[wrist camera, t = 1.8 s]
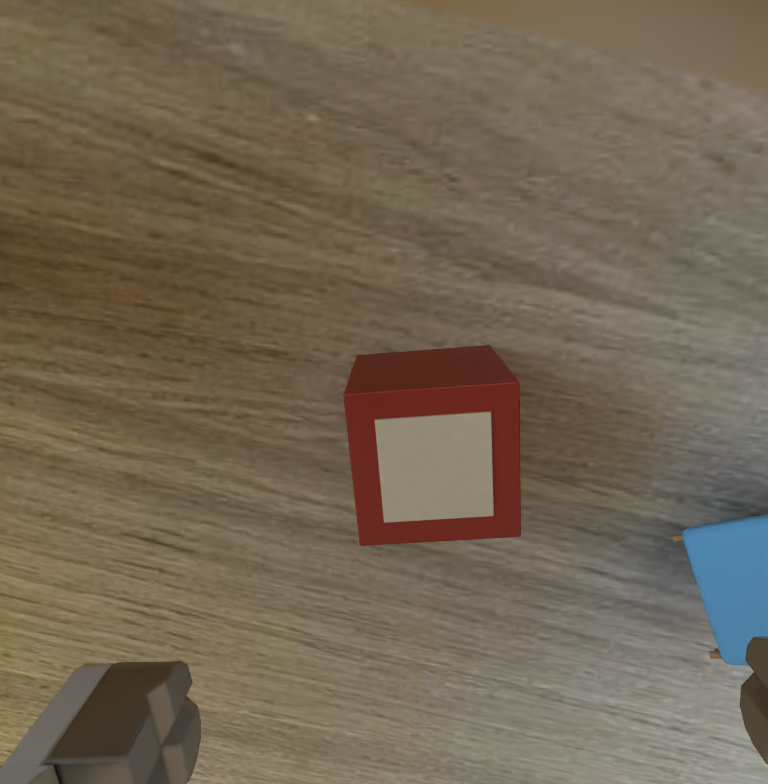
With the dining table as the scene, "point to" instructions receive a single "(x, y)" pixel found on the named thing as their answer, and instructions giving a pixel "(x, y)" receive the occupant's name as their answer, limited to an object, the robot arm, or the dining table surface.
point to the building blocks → (731, 580)
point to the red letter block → (434, 446)
